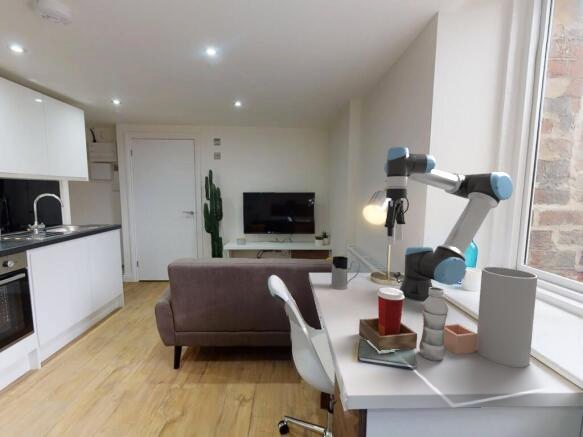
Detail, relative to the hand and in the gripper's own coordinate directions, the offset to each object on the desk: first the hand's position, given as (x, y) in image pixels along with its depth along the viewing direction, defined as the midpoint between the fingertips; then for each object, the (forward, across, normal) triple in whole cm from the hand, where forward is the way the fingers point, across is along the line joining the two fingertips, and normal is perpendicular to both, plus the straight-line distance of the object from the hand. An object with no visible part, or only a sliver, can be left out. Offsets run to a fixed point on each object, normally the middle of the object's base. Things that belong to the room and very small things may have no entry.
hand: (394, 242), depth 112 cm
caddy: (+28, +27, +5) cm, 39 cm away
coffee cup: (+27, +25, +5) cm, 37 cm away
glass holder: (+28, -16, -28) cm, 43 cm away
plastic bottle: (+28, +28, +18) cm, 44 cm away
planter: (+28, +18, +23) cm, 41 cm away
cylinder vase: (+28, +15, +34) cm, 47 cm away
